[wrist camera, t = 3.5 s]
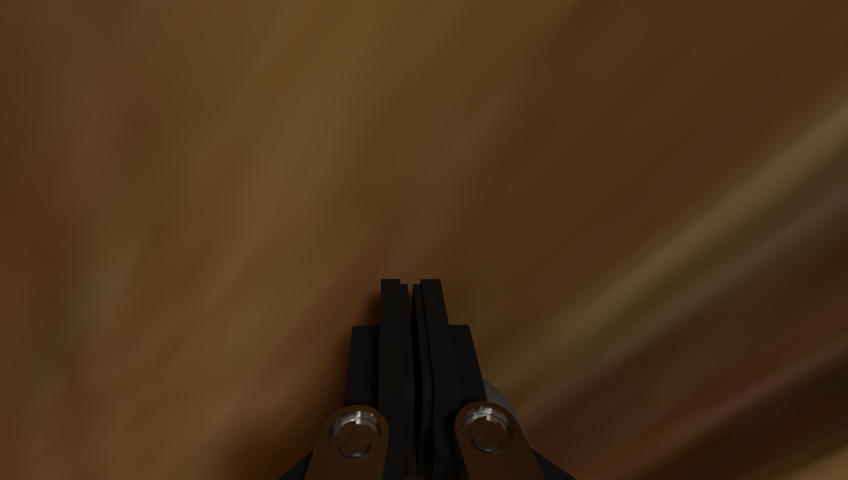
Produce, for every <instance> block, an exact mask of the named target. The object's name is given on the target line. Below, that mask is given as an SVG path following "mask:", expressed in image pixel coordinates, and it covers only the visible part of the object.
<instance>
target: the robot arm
mask: <svg viewBox="0 0 848 480" xmlns="http://www.w3.org/2000/svg"><path fill="white" fill-rule="evenodd" d="M413 424H414V437H415V454H416V470H417V477H425V480H576V479H575V478H573V477H572V476H570V475H569V474H567V473H566V472H565V471H563V470H562V469H560V468H559V467H557V466H556V465H555V464H553V463H552V462H550V461H549V460H547V459H546V458H545V457H543V456H542V455H540V454H539V453H537V452H536V451H535V450H533V449H532V448H530V446H529V444H528V442H527V440H526V438H525V436H524V434H523V432H522V429H521V427H520V425H519V423H518V422H517V420H516V419H515V417H514V416H513V415H512V414H511V413H510V412H509V411H508V410H507V409H505V408H504V407H502V406H500V405H498V404H496V403H492V402H488V399H487V395H486V391H485V387H484V383H483V379H482V376H481V372H480V368H479V364H478V360H477V356H476V352H475V348H474V344H473V340H472V336H471V332H470V329H469V326H468V325H449V323H448V318H447V313H446V308H445V302H444V297H443V292H442V287H441V282H440V279H421V281H420V284H414V285H413V300H412V321H411V325H410V310H409V296H408V284H400V279H381V305H380V326H353V329H352V337H351V346H350V355H349V364H348V373H347V382H346V391H345V400H344V407H343V408H341V409H339V410H337V411H336V412H334V413H332V414H331V415H330V416H329V417H328V419H327V420H326V421H325V422H324V424H323V426H322V428H321V430H320V433H319V436H318V439H317V442H316V445H315V448H314V450H313V451H311V452H310V453H309V454H308V455H307V456H305V457H304V458H303V459H302V460H301V461H299V462H298V463H297V464H296V465H295V466H293V467H292V468H291V469H290V470H288V471H287V472H286V473H285V474H284V475H282V476H281V477H280V478H279V479H278V480H404V478H410V475H411V458H412V441H413Z"/></svg>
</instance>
